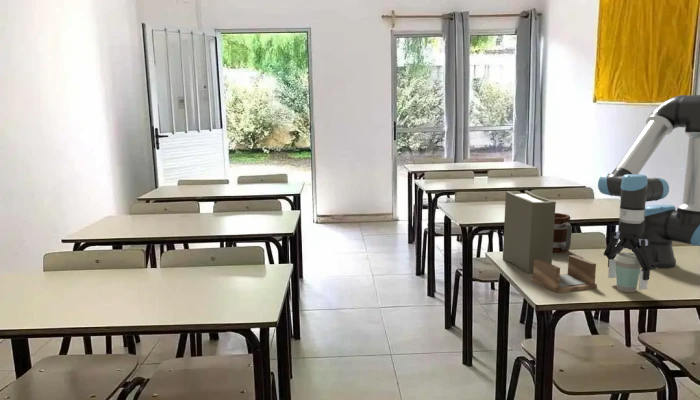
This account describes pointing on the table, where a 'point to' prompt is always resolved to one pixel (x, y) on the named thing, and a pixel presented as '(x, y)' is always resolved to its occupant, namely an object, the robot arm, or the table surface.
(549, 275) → the holder
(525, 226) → the book
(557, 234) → the mug
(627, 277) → the coffee cup
